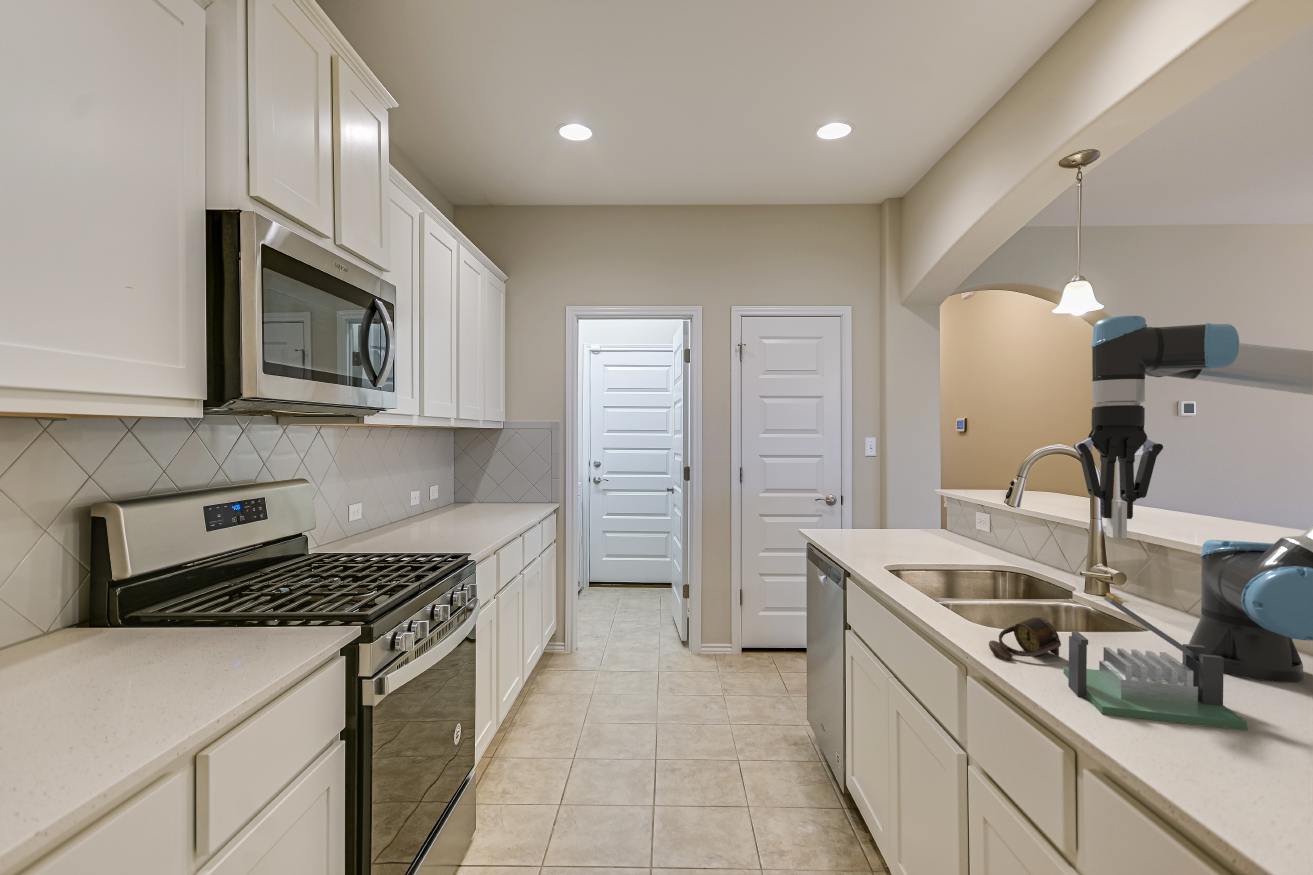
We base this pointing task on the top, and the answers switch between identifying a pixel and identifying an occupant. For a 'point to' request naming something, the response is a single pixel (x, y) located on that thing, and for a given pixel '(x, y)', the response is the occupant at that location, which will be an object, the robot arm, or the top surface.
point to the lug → (1078, 663)
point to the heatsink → (1148, 677)
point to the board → (1157, 707)
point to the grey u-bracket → (1206, 675)
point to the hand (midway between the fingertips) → (1116, 536)
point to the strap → (1149, 626)
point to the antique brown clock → (1029, 639)
